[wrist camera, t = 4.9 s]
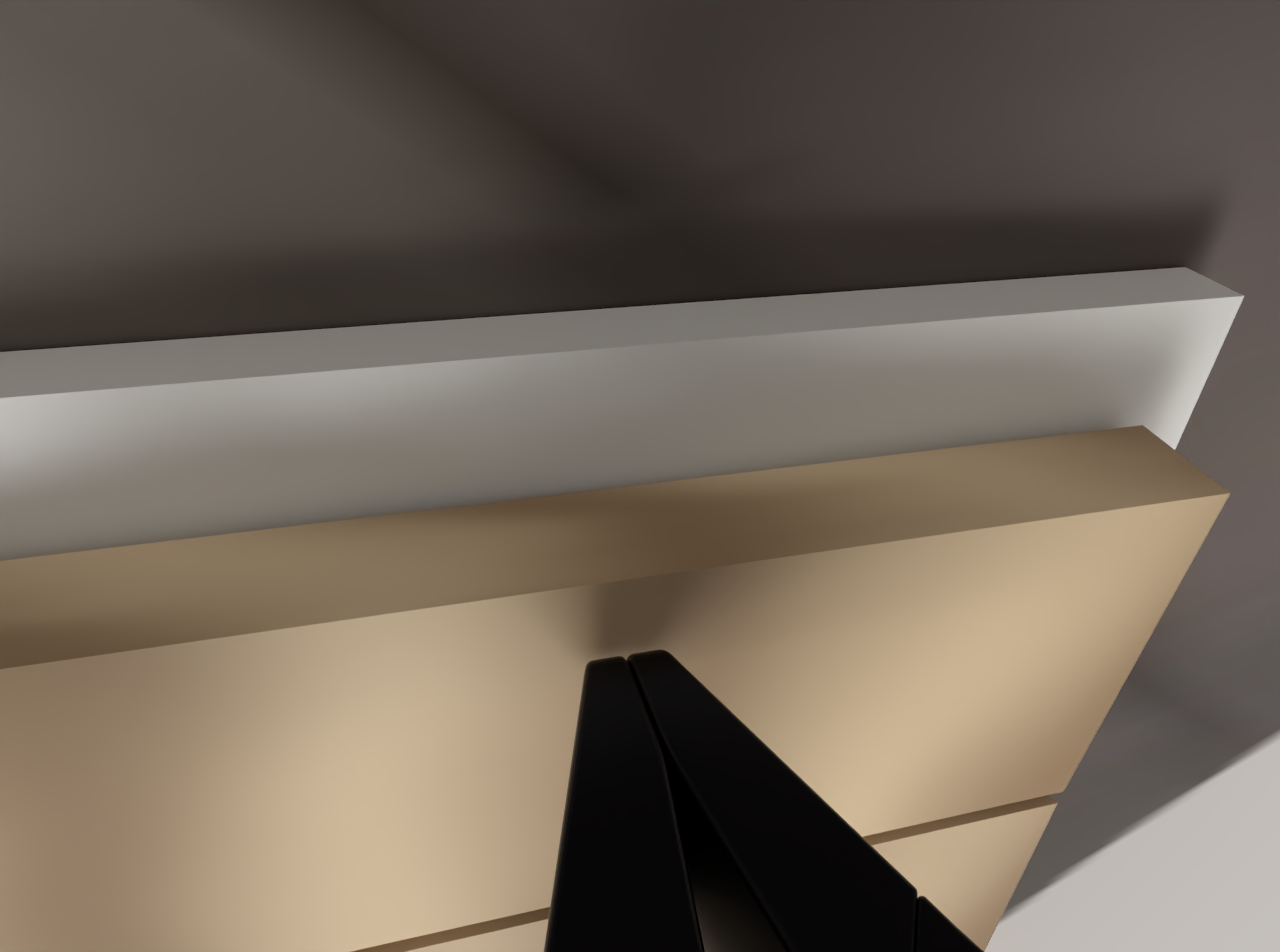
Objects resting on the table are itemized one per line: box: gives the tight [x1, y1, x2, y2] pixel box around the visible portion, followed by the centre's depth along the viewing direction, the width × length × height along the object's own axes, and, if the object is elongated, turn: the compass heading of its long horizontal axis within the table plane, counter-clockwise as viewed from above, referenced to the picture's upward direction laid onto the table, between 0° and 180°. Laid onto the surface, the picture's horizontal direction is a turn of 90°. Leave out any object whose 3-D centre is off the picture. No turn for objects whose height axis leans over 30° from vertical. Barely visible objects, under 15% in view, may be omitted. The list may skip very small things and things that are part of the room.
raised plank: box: [0, 425, 1230, 952], centre depth 11 cm, size 15×6×2 cm, turn 88°
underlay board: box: [0, 267, 1244, 561], centre depth 13 cm, size 17×14×1 cm
